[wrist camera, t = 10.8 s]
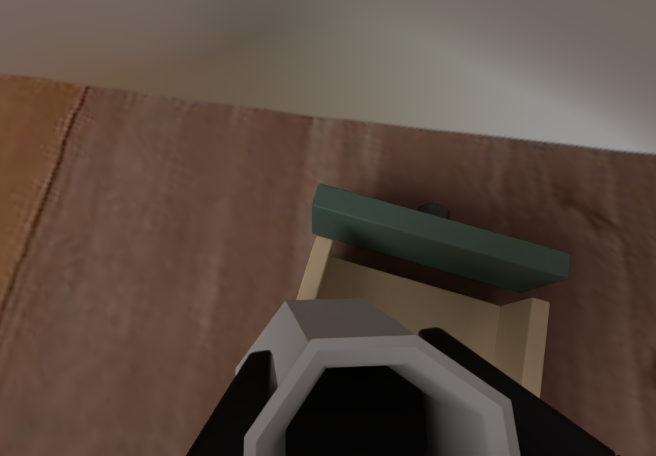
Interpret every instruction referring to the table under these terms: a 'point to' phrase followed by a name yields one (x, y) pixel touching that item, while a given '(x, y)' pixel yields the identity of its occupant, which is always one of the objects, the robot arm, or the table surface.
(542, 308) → the drawer
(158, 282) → the table surface
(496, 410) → the flask
